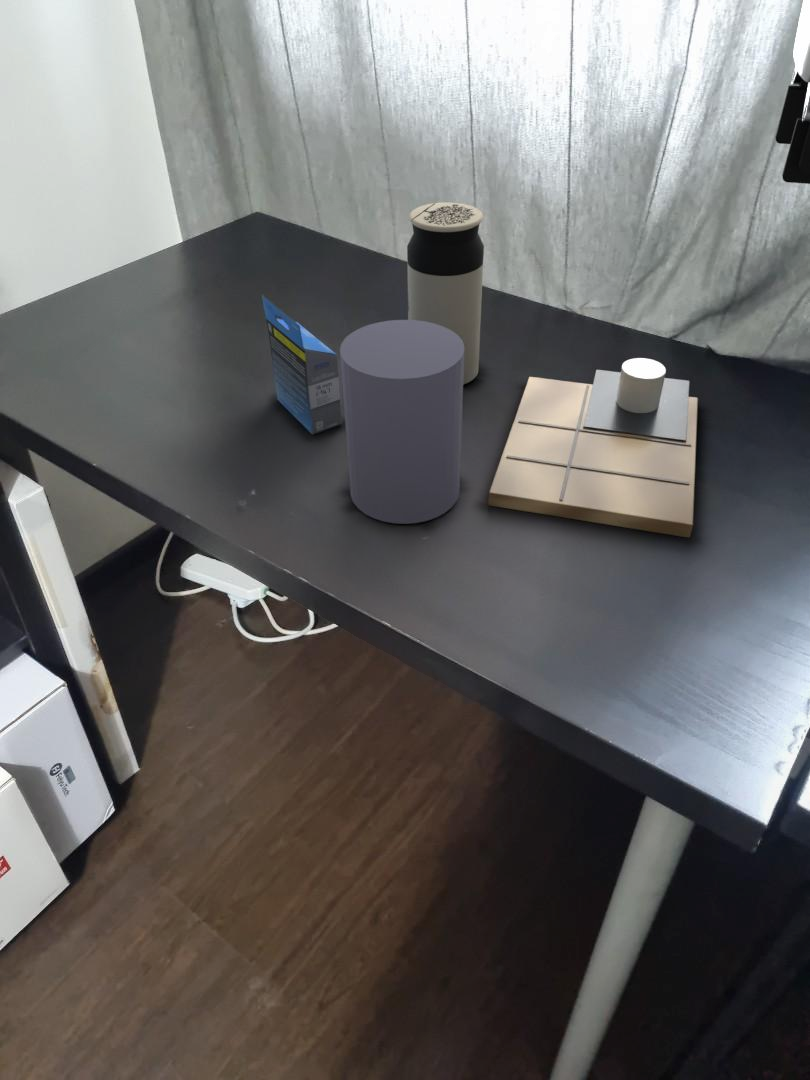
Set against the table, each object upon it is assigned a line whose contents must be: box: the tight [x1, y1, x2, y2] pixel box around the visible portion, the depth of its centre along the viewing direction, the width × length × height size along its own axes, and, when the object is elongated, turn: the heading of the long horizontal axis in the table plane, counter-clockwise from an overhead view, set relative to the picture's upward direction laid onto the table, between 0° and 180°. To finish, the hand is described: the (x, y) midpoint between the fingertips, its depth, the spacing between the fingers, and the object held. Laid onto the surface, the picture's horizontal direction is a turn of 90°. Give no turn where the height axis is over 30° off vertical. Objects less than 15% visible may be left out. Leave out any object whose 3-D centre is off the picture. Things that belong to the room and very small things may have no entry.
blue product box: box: [261, 294, 343, 435], centre depth 85 cm, size 9×4×12 cm, turn 32°
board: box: [487, 369, 699, 538], centre depth 83 cm, size 18×25×2 cm
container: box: [339, 319, 464, 525], centre depth 73 cm, size 10×10×15 cm
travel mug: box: [406, 201, 485, 385], centre depth 89 cm, size 8×8×18 cm
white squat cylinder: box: [616, 357, 667, 413], centre depth 85 cm, size 4×4×4 cm
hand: (800, 161), depth 62 cm, fingers open, 9 cm apart
